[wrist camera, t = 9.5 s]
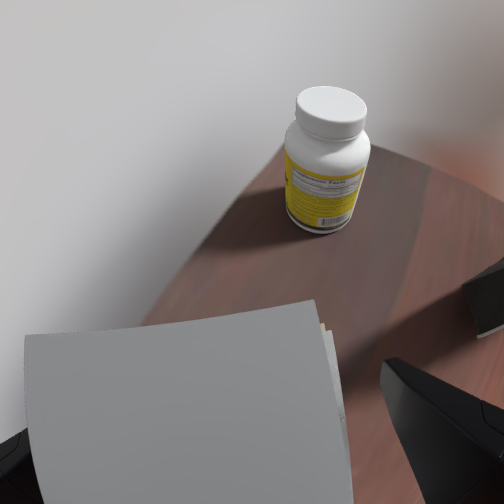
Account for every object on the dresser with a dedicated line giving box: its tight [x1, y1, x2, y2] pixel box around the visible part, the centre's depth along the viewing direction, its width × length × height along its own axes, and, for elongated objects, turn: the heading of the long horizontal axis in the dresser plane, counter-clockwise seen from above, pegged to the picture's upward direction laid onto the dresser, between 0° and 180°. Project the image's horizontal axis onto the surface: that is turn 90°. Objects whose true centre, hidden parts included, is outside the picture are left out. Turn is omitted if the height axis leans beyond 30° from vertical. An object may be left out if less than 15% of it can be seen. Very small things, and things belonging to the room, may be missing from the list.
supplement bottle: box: [284, 86, 370, 234], centre depth 17 cm, size 5×5×10 cm
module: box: [24, 299, 353, 504], centre depth 8 cm, size 5×5×13 cm
